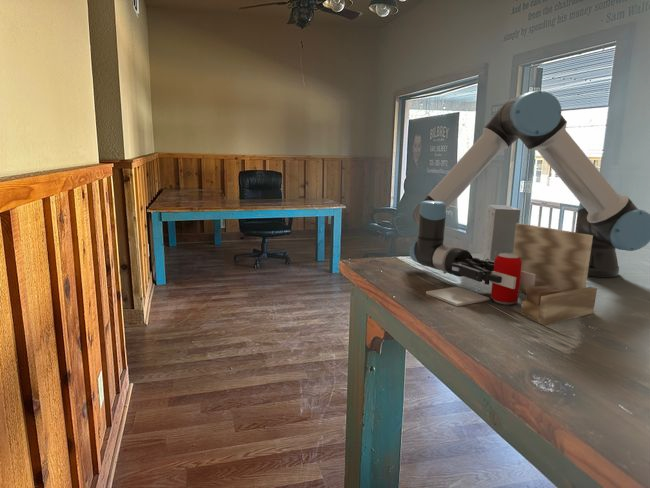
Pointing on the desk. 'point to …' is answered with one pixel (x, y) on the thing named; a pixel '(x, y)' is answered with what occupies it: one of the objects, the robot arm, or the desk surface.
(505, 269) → the beverage can
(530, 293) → the offcut upper
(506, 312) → the desk surface
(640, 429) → the desk surface
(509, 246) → the hard drive box
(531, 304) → the offcut lower
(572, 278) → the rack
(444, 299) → the felt pad
